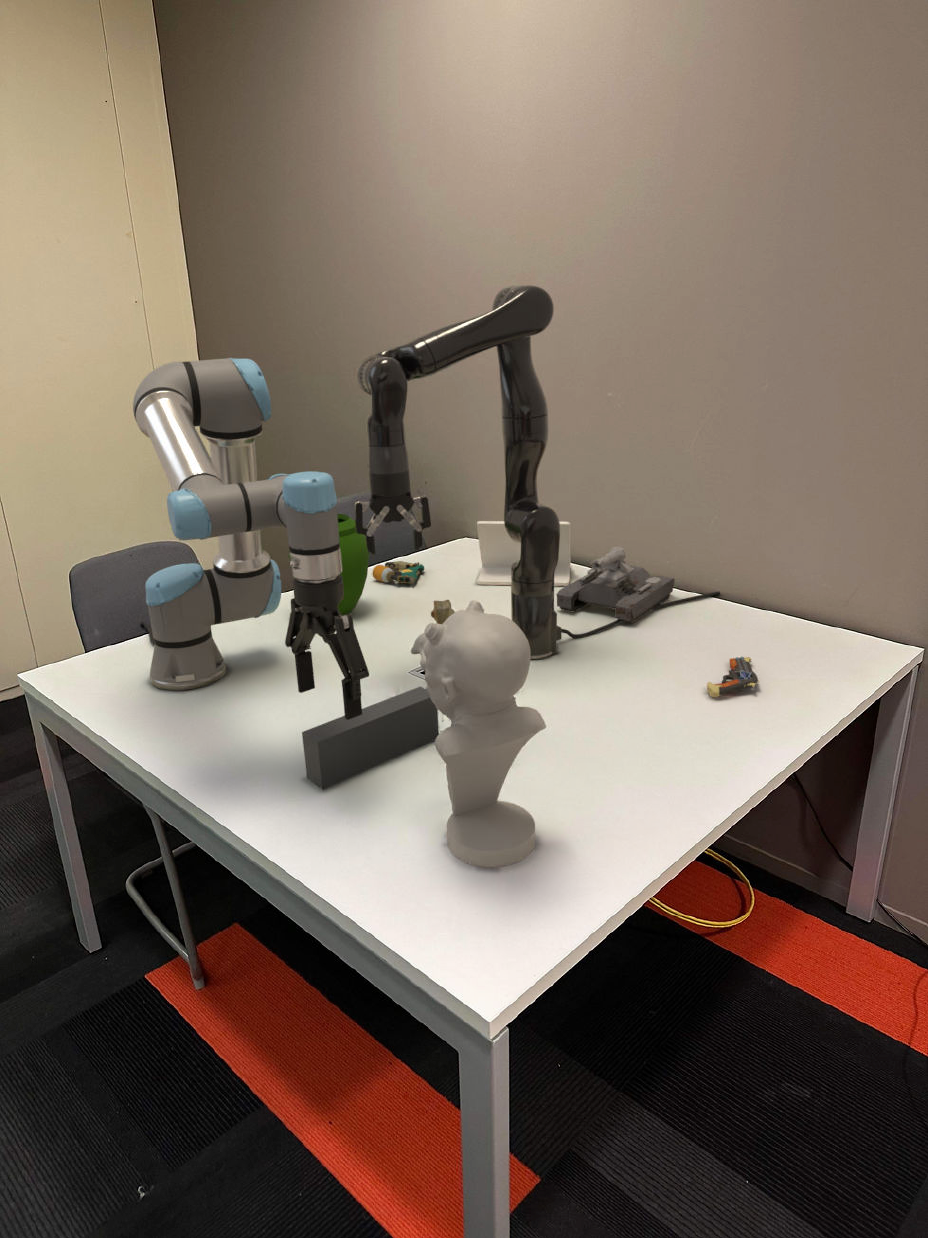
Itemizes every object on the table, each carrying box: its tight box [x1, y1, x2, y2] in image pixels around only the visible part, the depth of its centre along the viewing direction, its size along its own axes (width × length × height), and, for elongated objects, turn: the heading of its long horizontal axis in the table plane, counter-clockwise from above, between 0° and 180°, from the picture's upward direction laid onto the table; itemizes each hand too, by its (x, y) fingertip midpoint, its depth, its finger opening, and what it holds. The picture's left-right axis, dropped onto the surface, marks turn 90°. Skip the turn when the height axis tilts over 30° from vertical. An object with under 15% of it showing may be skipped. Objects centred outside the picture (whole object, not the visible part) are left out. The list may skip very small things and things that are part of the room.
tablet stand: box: [476, 520, 572, 587], centre depth 236 cm, size 18×25×17 cm
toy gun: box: [706, 656, 760, 698], centre depth 171 cm, size 3×19×10 cm
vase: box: [288, 513, 370, 615], centre depth 209 cm, size 20×20×24 cm
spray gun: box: [371, 560, 425, 585], centre depth 240 cm, size 4×17×15 cm
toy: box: [556, 546, 676, 624], centre depth 212 cm, size 25×20×15 cm
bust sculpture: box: [410, 599, 547, 868], centre depth 121 cm, size 16×24×35 cm
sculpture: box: [430, 599, 456, 624], centre depth 177 cm, size 6×7×15 cm
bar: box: [301, 686, 440, 790], centre depth 145 cm, size 24×5×9 cm, turn 131°
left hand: (329, 703), depth 137 cm, fingers open, 13 cm apart
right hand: (395, 551), depth 165 cm, fingers open, 8 cm apart
